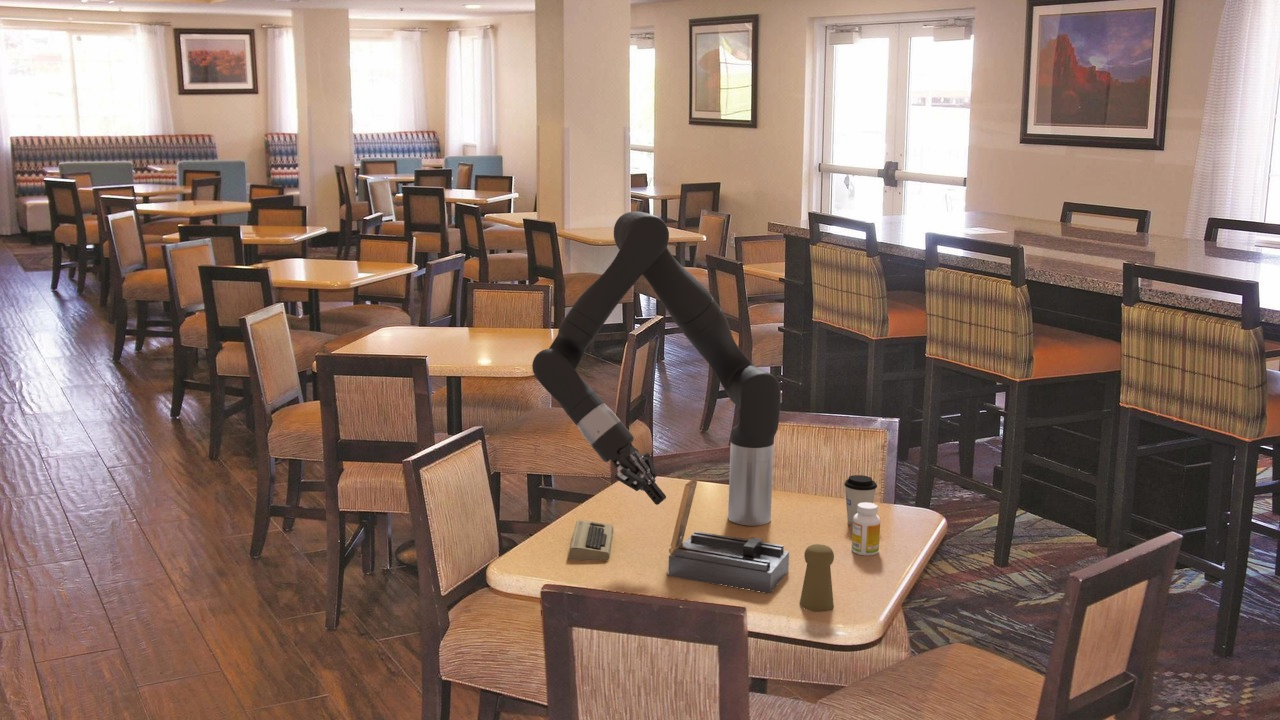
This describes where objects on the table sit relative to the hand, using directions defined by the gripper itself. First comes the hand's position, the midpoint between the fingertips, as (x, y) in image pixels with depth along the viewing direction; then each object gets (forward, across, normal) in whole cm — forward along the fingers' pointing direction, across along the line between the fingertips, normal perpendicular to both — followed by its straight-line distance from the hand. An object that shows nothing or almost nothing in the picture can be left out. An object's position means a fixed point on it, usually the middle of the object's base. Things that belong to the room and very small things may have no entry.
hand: (661, 501), depth 226 cm
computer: (-2, +2, +20) cm, 21 cm away
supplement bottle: (+34, +23, -16) cm, 44 cm away
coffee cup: (+30, +39, -12) cm, 51 cm away
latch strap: (+6, 0, -2) cm, 6 cm away
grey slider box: (+19, 0, -1) cm, 19 cm away
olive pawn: (+32, -7, -15) cm, 36 cm away
